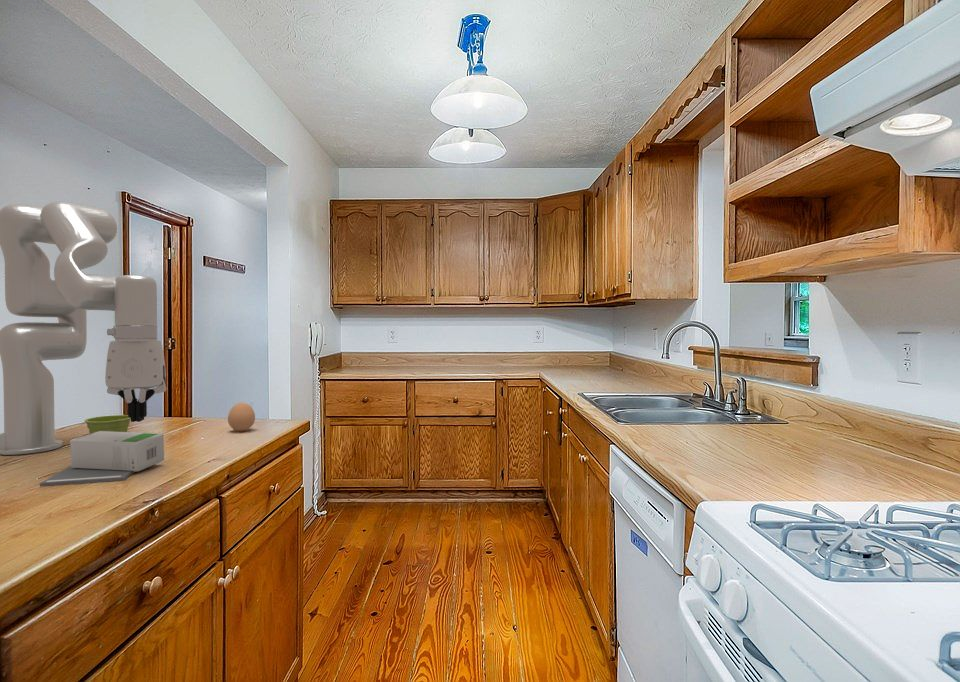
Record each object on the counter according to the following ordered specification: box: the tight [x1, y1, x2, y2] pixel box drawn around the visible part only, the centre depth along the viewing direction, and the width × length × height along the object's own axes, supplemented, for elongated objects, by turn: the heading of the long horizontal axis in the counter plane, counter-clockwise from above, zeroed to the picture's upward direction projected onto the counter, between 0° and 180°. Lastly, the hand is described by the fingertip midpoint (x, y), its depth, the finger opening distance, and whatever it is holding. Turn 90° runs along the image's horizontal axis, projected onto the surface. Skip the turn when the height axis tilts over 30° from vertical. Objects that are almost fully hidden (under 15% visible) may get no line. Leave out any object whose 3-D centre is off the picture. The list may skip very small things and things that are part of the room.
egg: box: [227, 402, 256, 432], centre depth 155 cm, size 7×7×8 cm
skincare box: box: [69, 431, 165, 472], centre depth 114 cm, size 8×7×16 cm
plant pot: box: [84, 414, 131, 434], centre depth 127 cm, size 9×9×9 cm
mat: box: [39, 465, 136, 487], centre depth 109 cm, size 14×13×1 cm
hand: (137, 420), depth 111 cm, fingers closed
